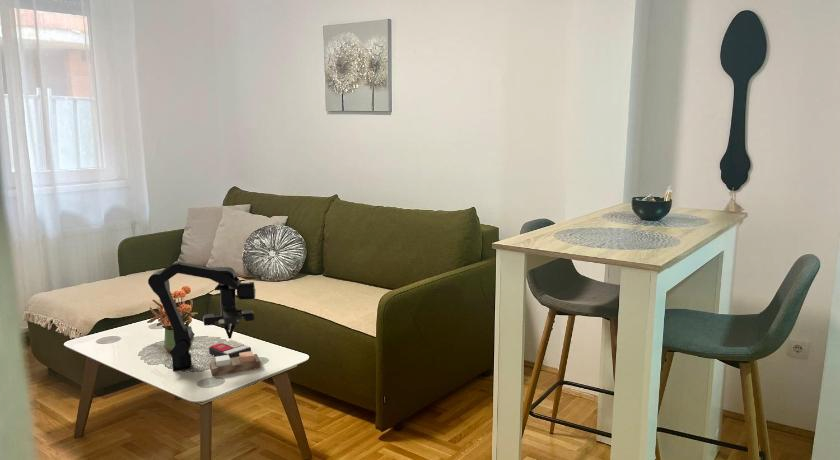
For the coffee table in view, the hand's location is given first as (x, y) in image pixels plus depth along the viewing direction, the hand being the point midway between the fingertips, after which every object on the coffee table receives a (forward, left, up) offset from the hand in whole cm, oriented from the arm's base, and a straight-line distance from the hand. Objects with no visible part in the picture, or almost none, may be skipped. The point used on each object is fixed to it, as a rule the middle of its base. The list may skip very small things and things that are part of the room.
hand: (229, 338), depth 244 cm
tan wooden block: (+5, -6, -9) cm, 12 cm away
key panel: (+1, -6, -11) cm, 12 cm away
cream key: (-4, -6, -9) cm, 12 cm away
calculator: (+1, +10, -11) cm, 15 cm away
